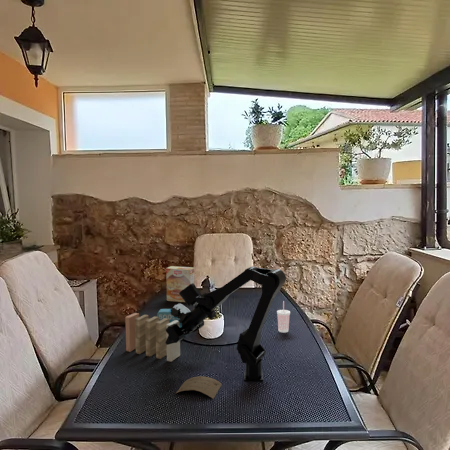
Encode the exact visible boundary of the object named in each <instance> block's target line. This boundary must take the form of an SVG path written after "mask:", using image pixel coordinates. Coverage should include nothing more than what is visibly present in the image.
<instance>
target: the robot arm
mask: <svg viewBox="0 0 450 450" xmlns="http://www.w3.org/2000/svg"><path fill="white" fill-rule="evenodd" d="M250 281H252V282H253V283H256V284H258V285H260V286H261V294H260V298H259V301H258V302H257V306H256V308H255V311H254V313H253V316H252V318H251V321H250V324H249V327H248V328H246V329H244V330H243V331H242V332H240V334H239V336H238V340H237V341H236V342H235V344H236V350H237V353H238V354H239V356H240V359H241V362H242V364H244V369H245V370H244V371H243V378H244V379H243V380H244V381H245V382H246V381H248V382H251V381H253V382H263V381H264V373H263V371H262V370H263V368H262V367H263V365H262V364H263V361H262V359H263V357H265V356H266V355H265V354H266V351H267V350H265V348H264V347H263V346H262V344H261V339H262V338H261V337H262V336H261V332H262V330H263V328H264V324H265V322H266V320H267V318H268V314H269V313H270V310H271V307H272V305H273V302H274V300H275V297H276V296H277V295H278V293H279V292H280V291H281V290H282V288H283V286H284V285H285V283H286V281H287V276H286V274H285V272H284V270H282V269H279V268H275V269H270V268H265V267H264V268H263V267H258V266H257V267H256V266H253V265H252V266H250V267H248V268H245V270H244V271H243V272H241V273H239V274H238V275H237V276H235V277H234V278H232V279H231V280H230V281H228V282H226V283H225V284H224V285H223V286H221V287H218V288H216V289H213V290H211V291H210V292H204V293H202V292H201V291H200V290H199V289H198V288H197V286H196V285H195V282H194V283H192V284H190V285H189V286H187V287H186V288H185V289H183V290H182V291H181V292H180V293H179V295H180V296H181V297H182V298H183V300H184V301H185V302H184V303H186V305H187V306H188V307H190V306H191V307H193V308H192V309H191V310H190V309H189V308H188V307H186V306H185V305H184V304H182V303H177V304H174V306H173V307H172V308H170V309H171V315H173V316H174V317H177V318H179V319H180V320H179V322H180V323H182V324H181V325H182V327H181V328H180V327H179V326H178V325H177V324H172V325H170V326H168V328H167V329H166V332H167V333H168V338H167V340H166V342H165V343H166V344H167V345H168V344H172V343H177V342H179V341H180V342H181V341H182V340H183V339H184V338H185V336H187V335H189V334H191V333H195V332H197V331H199V330H200V329H202V328H203V327H204V326H205V319H207V318H209V319H210V320H212V319H213V318H215V317H217V313H216V308H218V307H219V306H221V305H222V304H224V303H225V301H227V299H228V298H229V296H230V295H231V294H233V293H234V292H235V291H237V290H238V289H240V288H241V287H243V286H245V285H246V284H247V283H249V282H250ZM184 335H185V336H184Z"/></svg>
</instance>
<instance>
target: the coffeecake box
mask: <svg viewBox="0 0 450 450" xmlns="http://www.w3.org/2000/svg"><path fill="white" fill-rule="evenodd" d="M165 272H166V274H165V275H166V301H168V302H178V303H186V302H185V301H184V300H183V298H182V297H181V296H180V295H179V293H180V292H181V291H182V290H183V289H185V288H186V287H187V286H189V285H190V284H192V283H194V284H195V267H191V266H190V267H189V266H176V265H175V266H174V265H170V266H168V267H166V268H165Z"/></svg>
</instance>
